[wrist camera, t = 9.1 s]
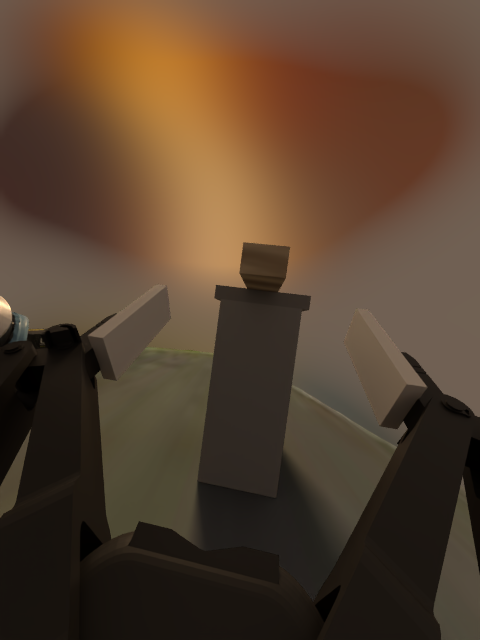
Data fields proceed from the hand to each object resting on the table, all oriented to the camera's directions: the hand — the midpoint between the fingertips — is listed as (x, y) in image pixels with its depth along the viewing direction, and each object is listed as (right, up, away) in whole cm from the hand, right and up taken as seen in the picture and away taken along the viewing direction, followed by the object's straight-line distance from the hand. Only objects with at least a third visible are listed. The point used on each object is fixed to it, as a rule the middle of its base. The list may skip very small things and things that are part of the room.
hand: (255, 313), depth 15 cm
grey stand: (-1, -26, +26) cm, 37 cm away
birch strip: (+2, +4, +20) cm, 20 cm away
